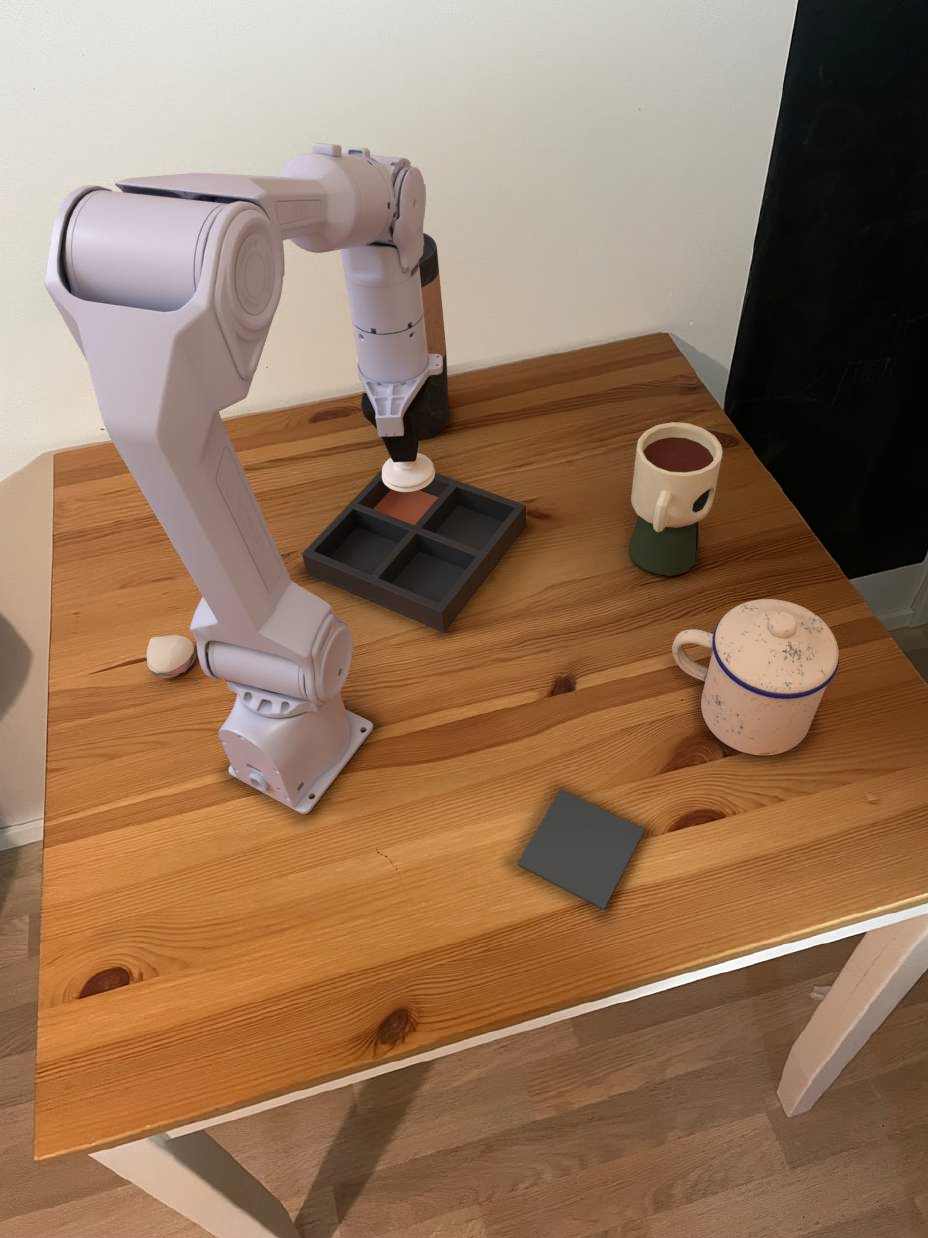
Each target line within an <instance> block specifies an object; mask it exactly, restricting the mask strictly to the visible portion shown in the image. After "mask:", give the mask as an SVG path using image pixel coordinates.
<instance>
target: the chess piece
mask: <svg viewBox="0 0 928 1238" xmlns="http://www.w3.org/2000/svg"><path fill="white" fill-rule="evenodd" d="M381 470H382V480H383V482H384V484H385V485H386V486H387V487H389V488H390V489H392V490H395V491H399V492H413V491H417V490H420V489H422V488H424V487H426V486H427V485H429V484H430V483H431V482H432V480H433V479H434V476H435V473H436V469H435V467H434V463H433V461H432V459H431V458H429V457H428V456H427V455H425V454H423V453H420V452H417V458H416V461H414V462H393V460H392V459H391V457H389V458H388V459H387V460H386V461H385V462H384V464H383V465H382V468H381Z"/></svg>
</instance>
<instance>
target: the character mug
mask: <svg viewBox="0 0 928 1238" xmlns="http://www.w3.org/2000/svg"><path fill="white" fill-rule="evenodd" d="M722 459H723V447H722V444H721V443H720V441H719V439H718V438H717V437H716V436H715V434H713V433H711V432H710V431H709V430H706V428H703V427H701V426H698V425H695V424H692V423H689V422H675V421H672V422H667V423H666V422H665V423H661V424H657V425H654V426H652V427H651V428H649V429H647V430H645V431H644V432H643V433H642V434H641V436H639V438H638V439H637V444H636V449H635V459H634V470H633V477H632V485H631V497H630V502H631V506H632V508H633V509H634V511H635V513H636V515H637V519H636V522H635V525H634V528H633V532H632V534H631V539H630V543H629V546H628V551H629V555H630V558H631V560H632V561H633V562H634V563H636V565H638V566H639V567H640V568H641V569H644V570H646V571H648V572H650V573H654V574H658V575H663V576H667V577H672V576H676V575H681V574H685V573H687V571H688V570H690V569H691V568H693V566H695V562H696V555H699V554H698V551H699V522H700V521H702V520H703V519H704V518H706V517H707V516H708V515H709V513H710V511H711V510H712V507H713V503H714V499H715V495H716V492H717V491H716V490H717V485H718V479H719V474H720V468H721V464H722Z"/></svg>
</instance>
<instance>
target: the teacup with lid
mask: <svg viewBox="0 0 928 1238" xmlns="http://www.w3.org/2000/svg"><path fill="white" fill-rule="evenodd" d="M824 621H825V620H823V619H822V618H821V617H820V616H818V615H817V614H816V613H814V612H813V611H811V610H809V609H808V608H806V607H803V606H801V605H799V604H797V603H795V602H790V601H786V600H781V599H776V598H775V599H773V598H762V599H754V600H750V601H746V602H744V603H740V604H738V605H736V606H735V607H733V608H731V609H730V610H729V611H728V612H727V613H725V615H723V616H722V618H720V620H719V621H718V623H717V625H716V626H715V628H714V631H713V633H711V632H708V631H705V630H702V629H693V628H692V629H685V630H682V631H680V632H678V634H677V635H676V636H675V638H674V639H673V642H672V645H671V652H672V657H673V659H674V661H675V663H676V665H677V666H678V667H679V668H680V669H681V670H682V671H683V672H684V673H685V674H687V675H689V676H691V677H692V678H694V679H697V680H699V681H702V682H704V686H703V689H702V695H701V699H700V708H701V709H700V711H701V714H702V717H703V720H704V722H705V724H706V726H707V727H708V729H709V731H711V733H712V734H713V735H714V736H715V737H716V739H718V740H719V741H720V742H721V743H723V744H725V745H726V746H728V747H730V748H732V749H733V750H736V751H738V752H740V753H744V754H748V755H754V756H774V755H779V754H783V753H786V752H788V751H790V750H792V749H793V748H795V747H796V746H798V745H799V744H800V743H801V742H802V741H803V740H804V739H805V737H806V736H807V734H808V733H809V730H810V727H811V724H812V722H813V720H814V718H815V715H816V713H817V711H818V708H819V705H820V703H821V700H822V698H823V697H824V693H825V690H826V688H827V686H828V684H830V682H831V681H832V680H833V678H834V677H835V675H836V673H837V671H838V668H839V665H840V652H839V645H838V642H837V639H836V637H835V635H834V633H833V632H832V630H831V628H830V627H829V626H828V625H827V624H826V622H824ZM688 644H692V645H698V646H701V647H705V648H707V649H710V650H712V651H711V656H710V661H709V665H708V667H707V666H705V665H702V664H700V663H698V662H696V661H695V660H693V659H692V658H691V657H690V656H689V655H688V653H687V652H686V650H685V648H684V645H688Z"/></svg>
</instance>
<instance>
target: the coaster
mask: <svg viewBox="0 0 928 1238" xmlns="http://www.w3.org/2000/svg"><path fill="white" fill-rule="evenodd" d="M645 832H646V831H645V828H643V827H641V826H639V825H637V824H634V823H632V822H630V821H628V820H626V819H624V818H622V817H620V816H618V815H616V814H614V813H612V812H610V811H608V810H605V809H603V808H601V807H599V806H597V805H595V804H593V803H590V802H588V801H586V800H584V799H582V798H580V797H578V796H576V795H574V794H572V793H570V792H567V791H565V790H563V789H560V790H559V791H558V793H557V794H556V797H555V798H554V799H553V801H552V803H551V805H550V807H549V808H548V810H547V811H546V813H545V815H544V817H543V818H542V820H541V821H540V823H539V825H538V827H537V829H536V830H535V832H534V833H533V835H532V837H531V839H530V840H529V842H528V844H527V846H526V847H525V849H524V851H523V852H522V854H521V856H520V858H519V859H518V861H517V863H516V865H517V866H518V867H519V868H522V869H524V870H525V871H528V872H529V873H531V874H533V875H535V876H537V877H539V878H541V879H543V880H545V881H547V882H549V883H550V884H553V885H554V886H556V887H558V888H560V889H562V890H564V891H566V892H568V893H570V894H571V895H574V896H575V897H577V898H579V899H581V900H583V901H585V902H587V903H589V904H590V905H593V906H594V907H597V908H599V909H601V910H603V911H605V910H606V909H607V906H608V905H609V902H610V900H611V898H612V896H613V894H614V893H615V891H616V888H617V887H618V885H619V883H620V881H621V879H622V877H623V875H624V873H625V871H626V869H627V867H628V865H629V863H630V861H631V860H632V857H633V855H634V853H635V851H636V849H637V847H638V845H639V844H640V843H641V842H640V841H641V839H642V837H643V836H644V833H645Z"/></svg>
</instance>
